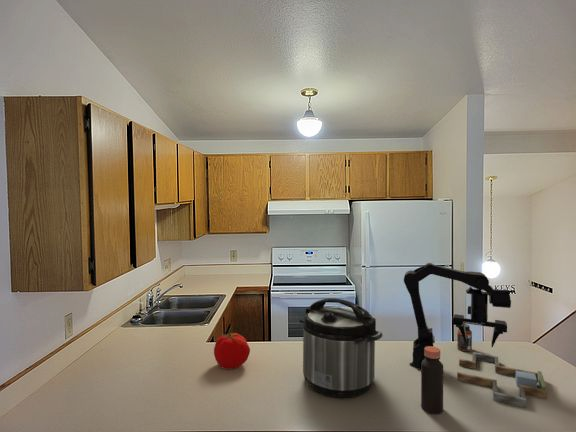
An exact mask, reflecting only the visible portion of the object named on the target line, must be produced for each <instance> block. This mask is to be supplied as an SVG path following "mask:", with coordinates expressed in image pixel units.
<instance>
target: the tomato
mask: <svg viewBox="0 0 576 432" xmlns="http://www.w3.org/2000/svg"><path fill="white" fill-rule="evenodd" d="M220 335H221V336H219V337H218V338H217V340H216V341H215V344H214V348H213V355H214V358H215V361H216V363H217V365H218V366H219V367H220V368H222V369H226V370H232V369H238V368H240V367H242V365H244V363H246V362H247V361H248V360H249V359H248V358H249V356H250V352H251V348H250V345H249V343H248V342H247V339H246V338H245V337H244V336H242V335H241V334H239V333H237V332H230V333H228V334H222V333H220Z"/></svg>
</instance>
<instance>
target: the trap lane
mask: <svg viewBox="0 0 576 432" xmlns="http://www.w3.org/2000/svg"><path fill="white" fill-rule="evenodd" d="M478 360H479V361H482V362H487V363H493V364H494V370H495V371H494V373H496V374H502V375H506V376H513V377H516V371H521V372H527V373H533V374H535V376H536V379H537V385H538V387H539V388H538V387H537V388H534V387H529V386H524V385H519V387H518V392H519V396H515V395H510V394H506V393H501V392H498V383H497V382H498V381H497V379H492V378H489V377H483V376H479V375H478V376H477V375H474V374H469V373H465V372H464V373H463V372H458V371H456V372H457V373H456V378H457V379H456V380H457V381H460V382H461V381H462V382H464V383H465V382H466V383H471V384H476V385H479V386H484V387H489V388H492V394H493V395H492V398H493V401H495V402H499V403H504V404H507V405H511V406H512V405H513V406H517V407H521V408H525V409H526V408H527V397H526V395H528V396H533V397H537V398H542V399H548V387H547V384H546V382H545V381H546V380H545V378H544V375H543V372H542V371H539V370H537V372H536V371H535V372H534V371H528V370H523V369H518V368H512V367H508V366H507V367H506V366H501V365H500V362H499V356H497V355H492V354H487V353H486V354H485V353H479V352H474V351H473V352H472V360H468V359H464V358H463V359H462V358H459V359H458V365H459V366H460V367H462V368H463V367H464V368H470V369H474V370H475V369H476V367H477V366H476V361H478Z"/></svg>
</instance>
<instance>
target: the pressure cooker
mask: <svg viewBox="0 0 576 432" xmlns="http://www.w3.org/2000/svg"><path fill="white" fill-rule="evenodd" d="M326 303H332V304H333V303H337V304H340V305H343V306H338V305H337V306H336V305H331V306H330V305H329V306H325V305H326ZM376 321H377V319H376V318H375V317H374V316H372V315H371V314H370V312H369V311H368V310H366V309H365V308H364V307H361V306H360V305H358V304H357V303H354V302H352V301H349V300H345V299H342V298H341V299H340V298H337V297H335V298H331V297H330V298H322V299H319V300H317V301H315V302H312V304H310V306H308V307H307V308H305V315H304V316H303V317H301V318H299V323H300V324H303V327H302V330H303V333H302V335H303V338H302V347H303V348H302V352H303V353H302V374H303V378H304V380H305V381H306V382H308V384H309V386H310V387H311V388H312V389H313V390H314V391H315V392H318V393H319V394H321V395H325V396H329V397H337V398H351V397H352V398H353V397H356V396H359V395H362V394H364V393H366V392H367V391H368V390H370V389H371V388H372V385H373V384H374V383H373V382H374V379H375V360H376V359H375V352H376V351H375V349H376V341H379V340H380V339H381V338H383V333H382V332H381V331H378V330H377V322H376Z"/></svg>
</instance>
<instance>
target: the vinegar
mask: <svg viewBox="0 0 576 432" xmlns="http://www.w3.org/2000/svg"><path fill="white" fill-rule="evenodd" d="M424 355H425V359H424V360H423V361H422V363H421V369H420V371H421V374H420V379H421V381H420V385H421V386H420V387H421V388H420V389H421V391H420V395H421V397H420V406H421V409H422V410H423V411H424V412H427V413H429V414H432V415H438V414H442V412H443V411H444V364H443V362H441V361H440V359H441V349H440V348H439V347H437V346H434V345H433V346H427V347H425V348H424Z"/></svg>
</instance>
